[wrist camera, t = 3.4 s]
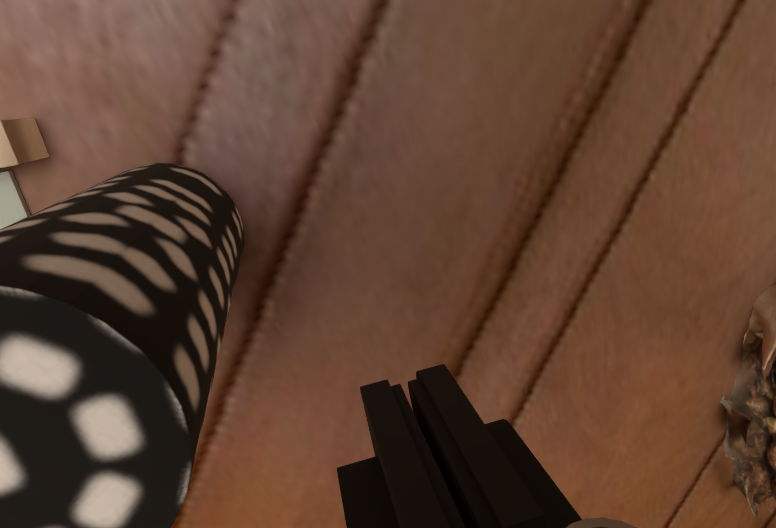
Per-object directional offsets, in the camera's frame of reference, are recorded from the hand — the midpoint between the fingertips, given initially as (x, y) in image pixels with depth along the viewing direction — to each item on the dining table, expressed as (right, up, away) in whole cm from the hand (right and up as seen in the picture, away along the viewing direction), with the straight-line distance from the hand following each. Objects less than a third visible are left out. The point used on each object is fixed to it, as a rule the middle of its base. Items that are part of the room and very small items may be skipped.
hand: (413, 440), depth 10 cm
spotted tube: (-13, +5, +20) cm, 24 cm away
